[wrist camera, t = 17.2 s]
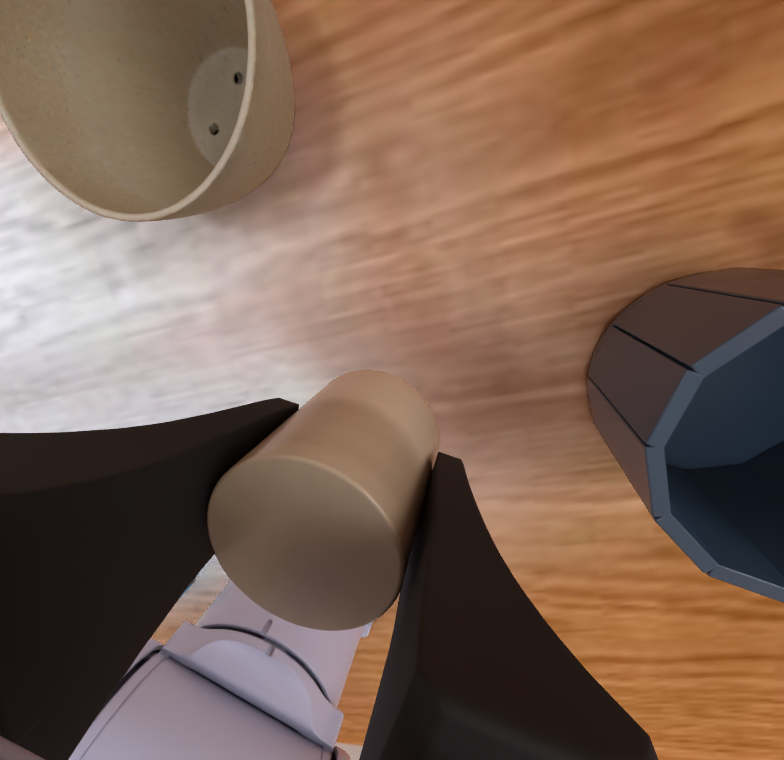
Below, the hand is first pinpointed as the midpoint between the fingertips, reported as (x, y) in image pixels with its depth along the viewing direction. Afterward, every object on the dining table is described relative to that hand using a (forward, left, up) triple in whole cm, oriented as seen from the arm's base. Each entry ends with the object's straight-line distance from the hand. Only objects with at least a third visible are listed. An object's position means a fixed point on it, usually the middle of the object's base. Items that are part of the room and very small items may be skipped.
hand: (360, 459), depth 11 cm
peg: (0, 0, -1) cm, 1 cm away
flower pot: (+9, +11, -10) cm, 17 cm away
